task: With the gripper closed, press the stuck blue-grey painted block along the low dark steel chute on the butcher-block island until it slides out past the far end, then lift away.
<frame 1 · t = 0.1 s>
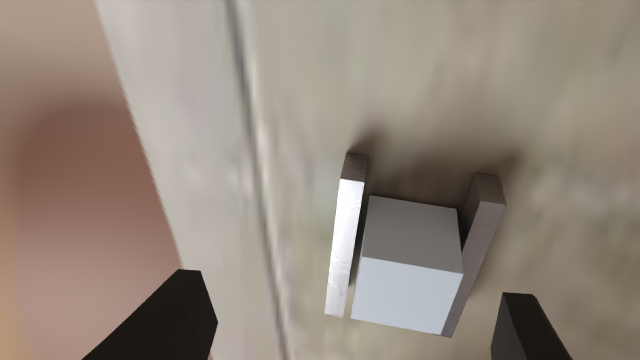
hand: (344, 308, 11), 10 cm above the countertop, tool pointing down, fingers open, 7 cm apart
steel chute: (404, 230, 22), on the countertop
stuck block: (404, 263, 20), point 2 cm above the countertop, slide at 0.0 cm
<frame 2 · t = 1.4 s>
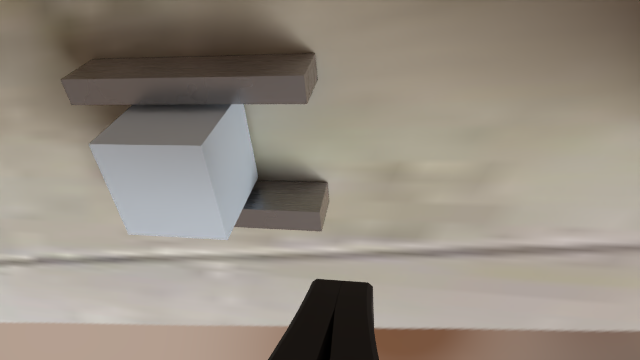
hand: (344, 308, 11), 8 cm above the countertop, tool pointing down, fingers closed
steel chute: (206, 134, 19), on the countertop
stuck block: (184, 162, 17), point 2 cm above the countertop, slide at 0.0 cm
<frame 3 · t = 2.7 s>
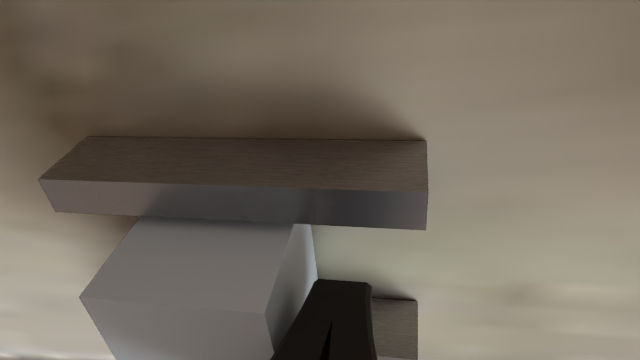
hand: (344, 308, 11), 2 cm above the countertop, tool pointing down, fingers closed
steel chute: (248, 235, 13), on the countertop
stuck block: (223, 293, 12), point 2 cm above the countertop, slide at 0.0 cm, touching gripper
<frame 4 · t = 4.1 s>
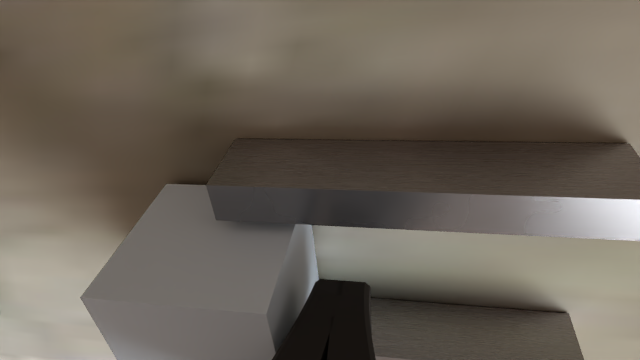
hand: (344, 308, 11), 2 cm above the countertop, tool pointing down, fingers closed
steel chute: (393, 244, 13), on the countertop
stuck block: (224, 294, 12), point 2 cm above the countertop, slide at 4.2 cm, touching gripper
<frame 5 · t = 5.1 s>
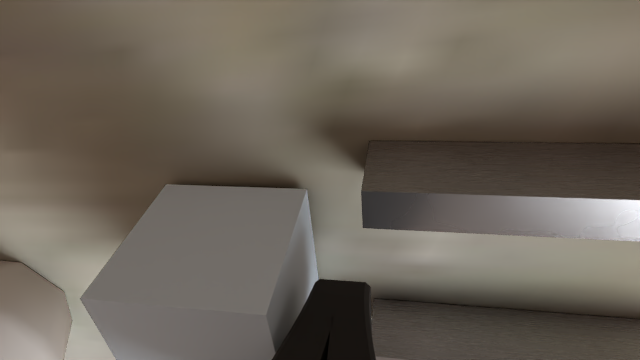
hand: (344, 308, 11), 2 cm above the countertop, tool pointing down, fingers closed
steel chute: (523, 251, 12), on the countertop
stuck block: (224, 294, 12), point 2 cm above the countertop, slide at 7.6 cm, touching gripper
salt shaker: (26, 291, 18), on the countertop
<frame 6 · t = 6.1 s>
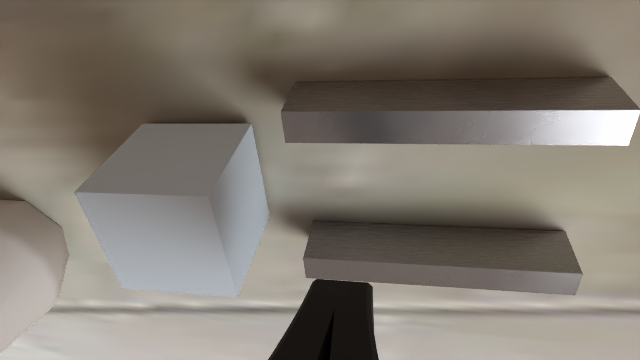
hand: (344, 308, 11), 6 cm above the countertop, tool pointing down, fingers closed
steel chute: (421, 173, 15), on the countertop
stuck block: (187, 205, 15), point 2 cm above the countertop, slide at 7.6 cm
salt shaker: (29, 229, 21), on the countertop
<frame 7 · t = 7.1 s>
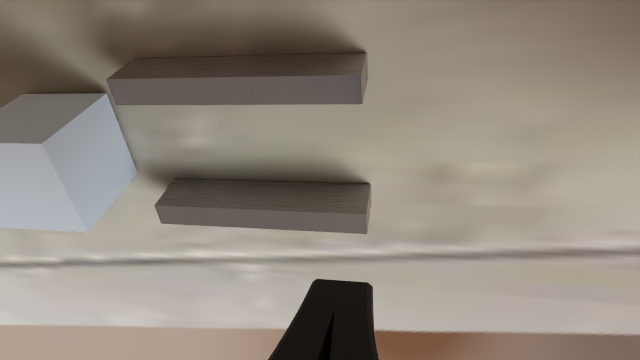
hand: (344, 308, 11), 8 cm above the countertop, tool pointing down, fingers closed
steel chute: (248, 134, 19), on the countertop
stuck block: (53, 160, 18), point 2 cm above the countertop, slide at 7.6 cm
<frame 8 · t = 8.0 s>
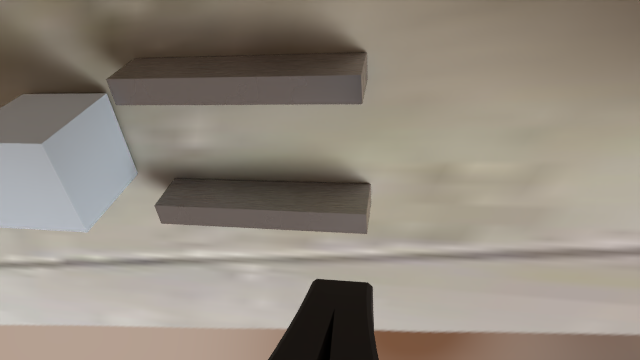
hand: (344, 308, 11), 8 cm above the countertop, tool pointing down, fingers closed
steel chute: (248, 134, 19), on the countertop
stuck block: (53, 160, 18), point 2 cm above the countertop, slide at 7.6 cm
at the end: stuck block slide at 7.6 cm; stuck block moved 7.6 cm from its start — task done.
